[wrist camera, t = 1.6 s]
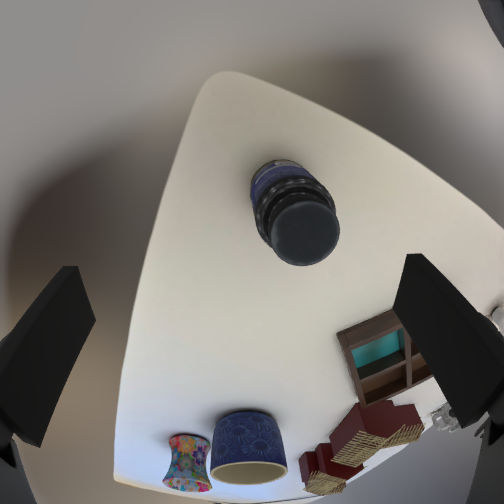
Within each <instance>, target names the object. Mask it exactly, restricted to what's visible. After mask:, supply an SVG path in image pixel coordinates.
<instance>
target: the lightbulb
mask: <svg viewBox="0 0 504 504" xmlns="http://www.w3.org/2000/svg"><path fill="white" fill-rule="evenodd" d="M492 319H493V320H494V321H495V322H496V323H497V324H498V326H499V329H500V331H501V333H502V335H503V336H504V310H503V309H502V308H501V307H498V308H497V309H495V310H494V312H493V314H492Z"/></svg>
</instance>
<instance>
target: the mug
mask: <svg viewBox="0 0 504 504" xmlns="http://www.w3.org/2000/svg"><path fill="white" fill-rule="evenodd" d="M440 416H442V418H443V420H444V423H445V425H443V426H439V425H438V423H437V420H436V418H437V417H440ZM432 421H433V424H434V426H435V427H436V429H437V430H444V429H448V431H449V432H454V431H456V430H458V429H459V428H461V426H460V424H459V422H458V420H457V418H456V416H455V415H454V413H453V411H452V409H451V407H450V405H449V403H448V402H447V403H445V404H444V405H443V406H442V407H441V409H440V410H439V412H438V413H437V414H435V415H434V416H433V417H432Z"/></svg>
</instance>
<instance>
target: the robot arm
mask: <svg viewBox="0 0 504 504" xmlns="http://www.w3.org/2000/svg"><path fill="white" fill-rule="evenodd" d="M501 2H502V5H503V7H504V0H501ZM393 311H394V312H395V314H396V315H397V317H398V318H399V320H400V321H401V323H402V325H403V326H404V328H405V329H406V331H407V333H408V334H409V336H410V337H411V339H412V341H413V342H414V344H415V345H416V347H417V349H418V350H419V352H420V354H421V355H422V357H423V359H424V360H425V362H426V364H427V366H428V367H429V369H430V371H431V372H432V374H433V376H434V378H435V379H436V381H437V383H438V385H439V387H440V388H441V390H442V392H443V394H444V396H445V398H446V399H447V401H448V403H449V405H450V407H451V409H452V411H453V413H454V415H455V416H456V418H457V420H458V422H459V424H460V426H461V428H462V429H463V428H465V427H467V426H469V425H471V424H473V423H476V422H477V421H478V420H479V419H480V418H481V417H482V416H483V415H484V413H485V412H486V411H487V412H488V414H489V415H490V416H489V417H488V419H487V420H486V421H485V422H484V423H483V424H482V425H481V426H480V428H479V429H478V430H477V431H476V433H475V435H474V436H475V437H476V436H478V435H479V434H480V433H481V431H482V430H483V429H484V433H483V434H482V435H481V436H480V438H483V439H482V445H481V449H480V454H479V459H478V463H477V467H476V471H475V475H474V478H473V482H472V485H471V489H470V492H469V495H468V498H467V501H466V504H504V336H503V335H502V334H501V332H500V331H498V329H497V328H496V326H495V325H494V324H493V323H492V322H491V321H490V320H489V319H488V318H486V317H485V316H484V315H482V314H481V313H478V312H477V311H476V309H475V308H474V307H473V306H472V305H471V304H470V303H469V302H468V301H467V299H466V298H465V297H464V296H463V295H462V294H461V293H460V292H459V291H458V290H457V289H456V288H455V287H454V285H453V284H452V283H451V282H450V281H449V280H448V279H447V278H446V277H445V276H444V275H443V274H442V273H441V272H440V271H439V270H438V269H437V268H436V267H435V266H434V265H433V264H432V263H431V262H430V261H429V260H428V259H427V258H426V257H425V256H424V255H423V254H422V253H419V254H407V256H406V260H405V264H404V268H403V272H402V276H401V280H400V284H399V288H398V291H397V295H396V298H395V302H394V305H393ZM95 321H96V319H95V316H94V314H93V311H92V308H91V305H90V302H89V300H88V297H87V294H86V291H85V288H84V285H83V282H82V278H81V275H80V272H79V269H78V266H63V267H62V268H61V269H60V271H59V272H58V273H57V274H56V275H55V276H54V277H53V279H52V280H51V281H50V282H49V283H48V285H47V286H46V287H45V288H44V289H43V291H42V292H41V293H40V294H39V296H38V297H37V298H36V299H35V301H34V302H33V303H32V305H31V306H30V307H29V308H28V310H27V311H26V312H25V314H24V315H23V316H22V318H21V319H20V320H19V322H18V323H17V324H16V326H15V327H14V329H13V330H12V331H11V332H10V333H9V334H8V335H7V336H5V337H4V338H3V339H2V340H1V342H0V504H37V503H36V501H35V498H34V496H33V493H32V491H31V488H30V485H29V483H28V480H27V477H26V474H25V471H24V468H23V465H22V462H21V459H20V456H19V452H18V449H17V445H16V443H15V441H14V440H13V439H12V436H13V433H15V434H16V435H17V436H18V437H19V438H20V439H21V440H22V441H23V442H25V443H28V444H31V445H33V446H36V447H39V448H40V446H41V444H42V440H43V438H44V435H45V433H46V430H47V427H48V425H49V422H50V419H51V417H52V414H53V412H54V409H55V407H56V404H57V402H58V400H59V397H60V395H61V393H62V390H63V388H64V386H65V383H66V381H67V379H68V377H69V375H70V372H71V370H72V368H73V366H74V364H75V361H76V359H77V357H78V355H79V353H80V351H81V349H82V347H83V345H84V343H85V341H86V339H87V337H88V335H89V333H90V331H91V329H92V327H93V325H94V323H95Z"/></svg>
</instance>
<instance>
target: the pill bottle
mask: <svg viewBox="0 0 504 504" xmlns="http://www.w3.org/2000/svg"><path fill="white" fill-rule="evenodd" d="M250 197H251V201H252V207H253V211H254V216H255V221H256V226H257V230H258V232H259V234H260V236H261V238H262V239H263V240H264V241H265V242H266V243H267V245H269V246H270V247H271V248H273V250H274V252H275V253H276V254H277V255H278V257H279V258H281V259H282V260H283V261H285V262H286V263H289V264H292V265H296V266H307V265H313V264H316V263H318V262H320V261H322V260H323V259H325V258H326V257H327V256H328V255H330V253H331V252H332V251H333V250H334V248H335V246H336V245H337V242H338V239H339V234H340V226H339V221H338V219H337V217H336V208H335V204H334V201H333V199H332V197H331V195H330V194H329V192H328V191H327V189H326V188H325V187H324V186H323V185H322V184H320V183H319V182H318V181H317V180H316V179H315V178H314V177H313V176H312V175H311V174H310V173H309V172H308V171H307V170H305V169H304V168H303V167H302V166H301V165H299V164H297V163H295V162H292V161H289V160H274V161H271V162H269V163H267V164H265V165H264V166H262V167H261V168H260V169H259V170H258V171H257V172H256V174H255V175H254V177H253V179H252V181H251V189H250Z"/></svg>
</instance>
